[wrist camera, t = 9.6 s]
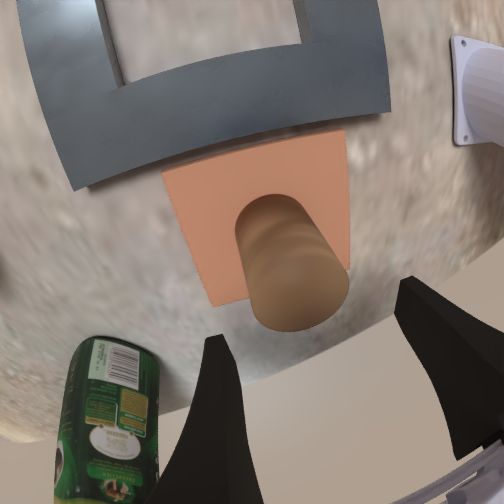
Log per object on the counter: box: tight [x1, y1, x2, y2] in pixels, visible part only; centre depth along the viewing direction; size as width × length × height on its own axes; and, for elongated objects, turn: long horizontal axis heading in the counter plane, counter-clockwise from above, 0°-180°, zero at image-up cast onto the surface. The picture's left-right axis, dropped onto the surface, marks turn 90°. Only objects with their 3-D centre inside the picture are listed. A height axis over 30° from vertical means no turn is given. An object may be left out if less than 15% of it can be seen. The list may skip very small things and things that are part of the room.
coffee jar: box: [54, 338, 160, 504], centre depth 16 cm, size 10×8×19 cm
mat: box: [161, 128, 350, 307], centre depth 18 cm, size 10×10×1 cm
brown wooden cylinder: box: [235, 194, 349, 332], centre depth 15 cm, size 4×4×6 cm
